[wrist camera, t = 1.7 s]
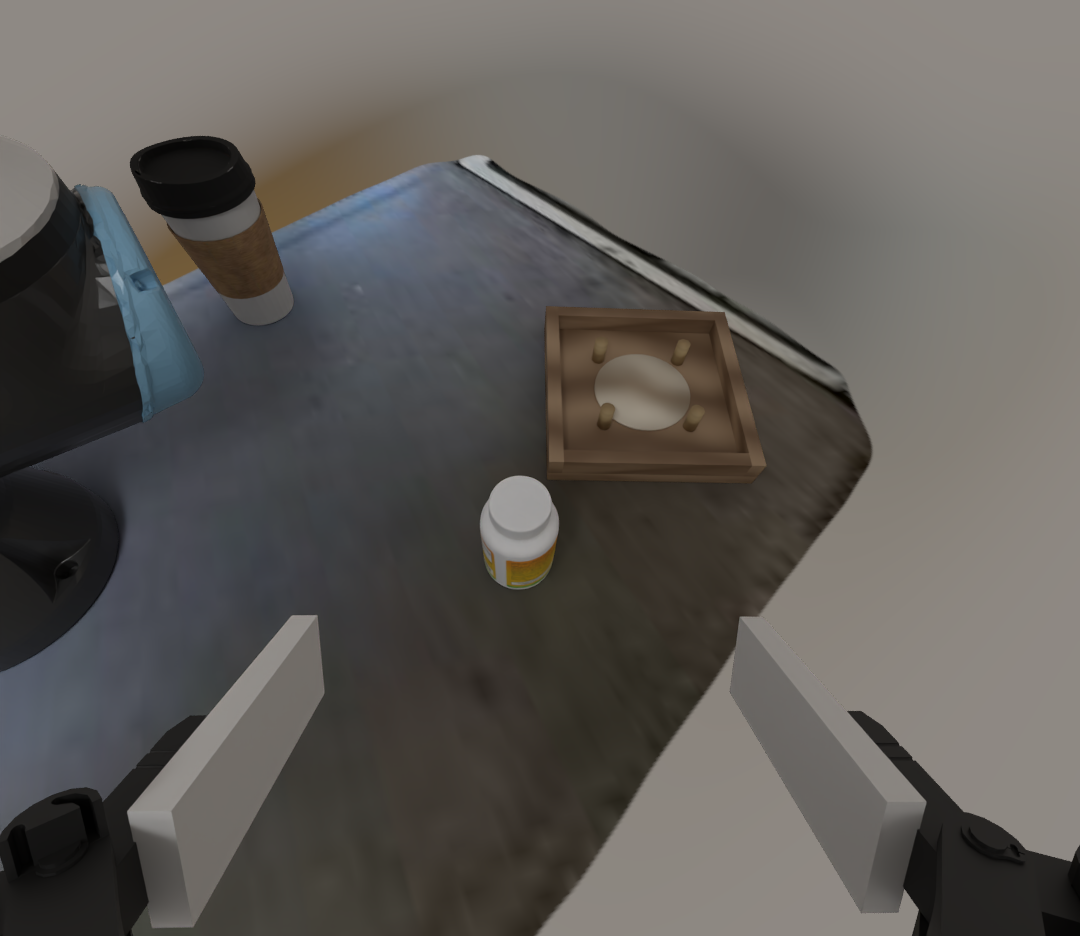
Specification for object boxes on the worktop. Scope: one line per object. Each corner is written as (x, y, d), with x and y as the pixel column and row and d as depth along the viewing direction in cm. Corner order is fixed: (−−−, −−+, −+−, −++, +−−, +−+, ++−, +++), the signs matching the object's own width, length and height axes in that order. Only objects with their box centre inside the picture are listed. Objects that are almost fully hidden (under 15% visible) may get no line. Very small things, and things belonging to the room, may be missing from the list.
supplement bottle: (564, 545, 41) (578, 488, 32) (531, 604, 38) (537, 558, 30) (506, 515, 42) (505, 452, 33) (470, 569, 39) (460, 516, 31)
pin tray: (751, 483, 44) (769, 462, 41) (546, 479, 44) (549, 457, 40) (714, 334, 53) (726, 307, 50) (544, 328, 53) (546, 301, 50)
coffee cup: (204, 305, 52) (103, 153, 39) (277, 267, 55) (205, 116, 42) (250, 348, 49) (157, 200, 36) (323, 305, 53) (262, 156, 40)
